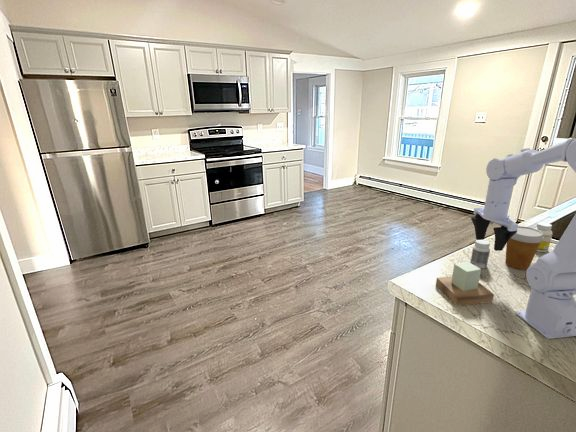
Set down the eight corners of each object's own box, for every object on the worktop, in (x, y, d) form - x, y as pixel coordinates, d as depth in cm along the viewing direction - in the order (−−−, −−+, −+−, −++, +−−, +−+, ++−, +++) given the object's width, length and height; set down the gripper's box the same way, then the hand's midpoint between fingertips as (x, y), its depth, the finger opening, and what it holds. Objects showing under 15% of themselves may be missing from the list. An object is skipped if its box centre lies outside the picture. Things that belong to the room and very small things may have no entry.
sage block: (477, 288, 83) (481, 269, 81) (463, 291, 82) (467, 271, 80) (464, 280, 87) (468, 261, 85) (451, 282, 86) (454, 263, 84)
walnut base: (492, 302, 81) (493, 294, 81) (456, 305, 81) (458, 297, 80) (467, 282, 91) (468, 274, 90) (435, 285, 90) (436, 277, 89)
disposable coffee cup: (541, 267, 97) (550, 232, 93) (525, 275, 93) (535, 239, 89) (509, 255, 105) (516, 223, 101) (493, 262, 101) (500, 229, 97)
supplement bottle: (549, 253, 106) (556, 228, 102) (530, 250, 108) (536, 225, 105) (545, 247, 110) (552, 222, 107) (527, 245, 112) (533, 220, 109)
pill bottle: (489, 269, 97) (494, 245, 95) (472, 268, 98) (477, 244, 96) (483, 262, 102) (487, 239, 99) (467, 261, 103) (472, 238, 100)
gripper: (532, 207, 80) (521, 254, 84) (492, 193, 93) (484, 234, 98) (507, 209, 79) (497, 256, 84) (470, 194, 93) (463, 235, 97)
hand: (488, 244), depth 91 cm, fingers open, 7 cm apart
